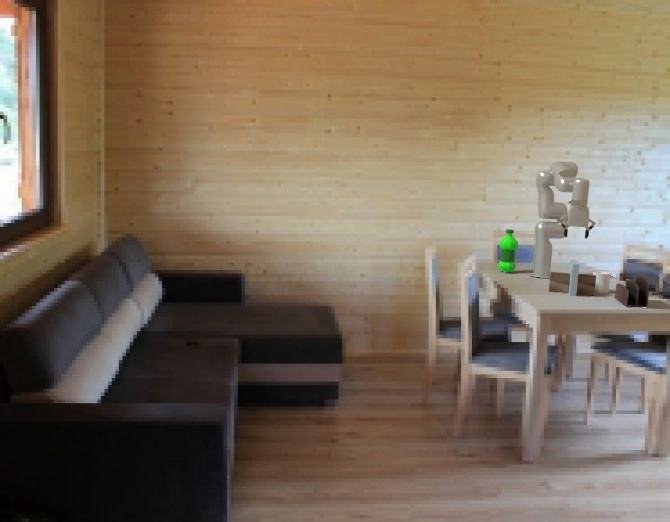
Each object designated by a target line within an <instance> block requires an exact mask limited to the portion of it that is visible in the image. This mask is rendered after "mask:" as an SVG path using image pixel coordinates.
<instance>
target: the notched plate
mask: <svg viewBox="0 0 670 522" xmlns="http://www.w3.org/2000/svg"><path fill="white" fill-rule="evenodd" d="M579 271H580V263H578V261H577V260H576V259H569V260H568V269H567V273H569V284H570V285H569V293H568V295H569V296H570V295H571V296H572V297H577V294H576V293H577V283H578V274H580V272H579Z"/></svg>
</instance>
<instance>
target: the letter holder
mask: <svg viewBox="0 0 670 522" xmlns="http://www.w3.org/2000/svg"><path fill="white" fill-rule="evenodd" d="M650 284H651V283H650V280H649V279H648V278H647V277H646V276H645V275H643V274H640V273H636V274H635V278H634V280H632V279H630V278H626V279H625V284H622V283H619V282H618V283H616V285H615V290H614V291H615V292H614V299H615V300H616V299H617V300H616V301H618V302H619V303H620V302H621V303H622V304H621V303H620V304H621V305H623V306H626V307H625V308H632V307H649V299H650V298H649V296H650Z"/></svg>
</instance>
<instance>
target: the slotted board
mask: <svg viewBox="0 0 670 522" xmlns="http://www.w3.org/2000/svg"><path fill="white" fill-rule="evenodd" d="M595 284H596V275H593V274H592V273H591V274H590V273H589V274H588V273H578V283H577V293H576V295H584V294H587V295H586V296H595V295H596V294H595V293H596V292H595ZM569 285H570V284H569V273H568V272H562V271H559V272H558V271H550V278H549V283H548V292H549V293H558V292H562V294H569Z"/></svg>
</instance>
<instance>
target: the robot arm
mask: <svg viewBox="0 0 670 522" xmlns="http://www.w3.org/2000/svg"><path fill="white" fill-rule="evenodd" d="M578 173H579V168H578V165H577V163H576V162H572V161H555V162H553V163H551V165H550V166H549V170H541V171H539V172H538V173H537V175H536V177H535V183H536V189H537V193H538V194H537V196H538V199H537V200H538V203H537V204H538V205H537V208H538V209H537V211H538V212H537V214H538V218H540V219H542V220H544V221H538V222H537V223H536V224H535V226H534V237H535V239H534V242H535V243H534V244H535V245H534V254H533V256H534V257H533V268H532V272H530V273H529V277H532V276H533V278H536V277H540V278H539V279H550V272H551V267H552V265H551V264H552V256H553V244H552V243H551V241H550V239H553V240H554V239H555V240H556V239H557V240H559V239H561V240H562V239H564V238H568V232H569V229H568V228H570V227H573V228H574V227H577V228H585V232H584V238H585V239H586V240H587V239H588V238H589V234H590V231H591V230H592V229H593V228H594V227H595V226H596V222H595V221H594V220H592V219H591V218H590V207H589V206H588V201H589V191H590V180H589V179H586V178H583V177H577V176H578ZM551 187H555V189H556V190H557V191H559V192H561V193H572V195H571V200H569V201H568V204H570V205H569V207H568V206H567V205H566V204H565V203H563V202H556V201H555V193H554V191H553V189H552V188H551ZM545 220H549V221H545ZM551 220H556V221H551ZM589 223H591V224H590V226H589Z"/></svg>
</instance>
